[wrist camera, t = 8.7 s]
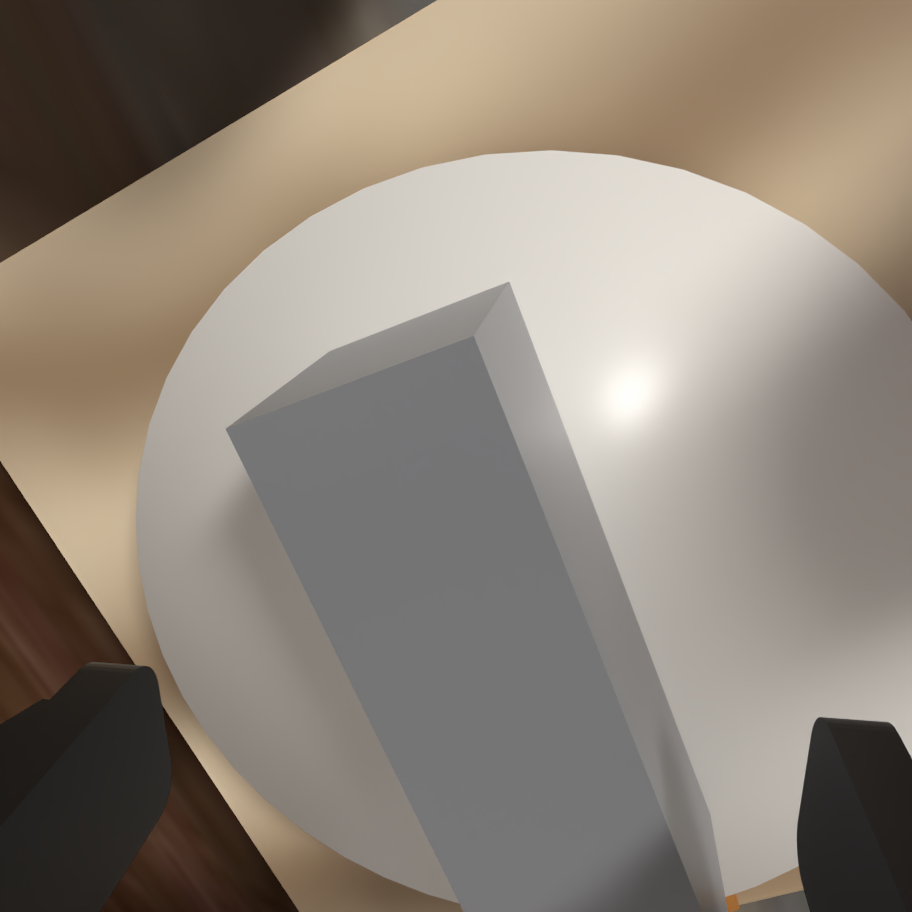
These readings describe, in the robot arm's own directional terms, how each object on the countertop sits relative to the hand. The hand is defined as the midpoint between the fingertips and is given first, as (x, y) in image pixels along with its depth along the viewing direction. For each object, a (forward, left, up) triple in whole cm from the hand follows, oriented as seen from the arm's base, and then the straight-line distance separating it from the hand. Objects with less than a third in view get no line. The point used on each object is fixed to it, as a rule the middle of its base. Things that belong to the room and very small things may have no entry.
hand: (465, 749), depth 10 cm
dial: (0, 0, -6) cm, 6 cm away
